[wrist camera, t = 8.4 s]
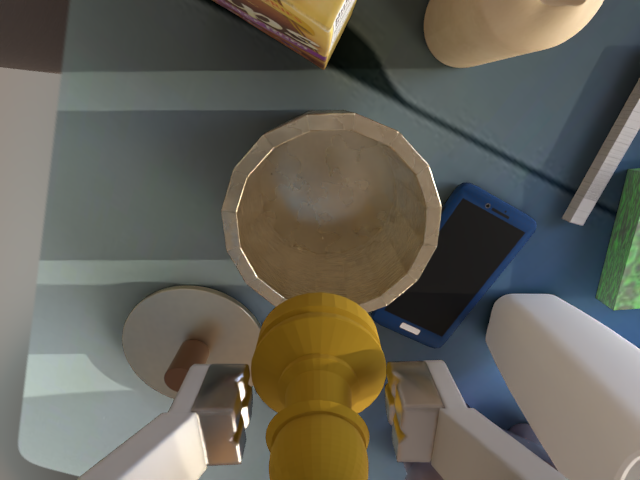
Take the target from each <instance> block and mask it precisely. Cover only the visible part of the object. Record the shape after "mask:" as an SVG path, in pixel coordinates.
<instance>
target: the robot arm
mask: <svg viewBox="0 0 640 480" xmlns="http://www.w3.org/2000/svg"><path fill="white" fill-rule="evenodd" d="M386 375H387V379H388V383H387V384H386V385H385V407H386V414H387V419H388V422H389V423H390V424H391V425H392V441H393V446H394V450H395V455H396V459H397V462H431V465H432V466H433V467H434V468H435V470H436V471H437V472H438V473H439V474H440V476H441V477H442V478H443V479H444V480H569V479H567V478H566V477H565V476H563V475H562V474H561V473H559V472H558V471H557V470H555V469H554V468H553V467H551V466H550V465H549V464H547V463H546V462H545V461H543V460H542V459H541V458H539V457H538V456H537V455H535V454H534V453H533V452H531V451H530V450H529V449H527V448H526V447H525V446H523V445H522V444H521V443H519V442H518V441H517V440H515V439H514V438H513V437H511V436H510V435H509V434H507V433H506V432H505V431H503V430H502V429H501V428H499V427H498V426H497V425H495V424H494V423H493V422H491V421H490V420H489V419H487V418H486V417H485V416H483V415H482V414H481V413H479V412H478V411H477V410H475V409H474V408H467V406H466V404H465V402H464V400H463V398H462V396H461V394H460V392H459V390H458V388H457V386H456V384H455V382H454V380H453V378H452V376H451V374H450V372H449V370H448V368H447V366H446V364H445V362H444V361H443V360H427V361H398V362H388V363H387V369H386ZM249 379H250V369H249V365H248V364H193V365H192V366H191V367H190V369H189V371H188V373H187V375H186V377H185V379H184V381H183V383H182V385H181V387H180V389H179V391H178V393H177V395H176V397H175V399H174V401H173V403H172V405H171V407H170V409H169V411H168V413H161V414H160V415H159V416H158V417H156V418H155V419H154V420H152V421H151V422H150V423H148V424H147V425H146V426H145V427H143V428H142V429H141V430H139V431H138V432H137V433H136V434H134V435H133V436H132V437H130V438H129V439H128V440H127V441H125V442H124V443H123V444H121V445H120V446H119V447H117V448H116V449H115V450H114V451H112V452H111V453H110V454H108V455H107V456H106V457H105V458H103V459H102V460H101V461H99V462H98V463H97V464H96V465H94V466H93V467H92V468H90V469H89V470H88V471H86V472H85V473H84V474H83V475H81V476H80V477H79V478H77V479H76V480H198V479H199V477H200V476H201V475H202V474H203V473H204V471H205V470H206V469H207V466H213V465H235V464H241V462H242V457H243V453H244V448H245V444H246V433H245V428H246V427H247V426H248V425H249V424H250V420H251V415H252V405H253V394H252V387H251V386H250V385H249V384H248V383H249Z"/></svg>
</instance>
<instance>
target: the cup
mask: <svg viewBox="0 0 640 480" xmlns="http://www.w3.org/2000/svg"><path fill="white" fill-rule="evenodd" d="M486 343H487V345H488V348H489V350H490V352H491V354H492V356H493V359H494V361H495V363H496V365H497V367H498V369H499V371H500V373H501V375H502V377H503V379H504V380H505V382H506V384H507V386H508V388H509V390H510V392H511V394H512V395H513V397H514V399H515V400H516V402H517V404H518V406H519V407H520V409H521V411H522V413H523V414H524V416H525V418H526V419H527V421H528V423H529V425H530V426H531V428H532V430H533V431H534V433H535V435H536V436H537V438H538V439H539V441H540V443H541V444H542V446H543V448H544V449H545V451H546V452H547V454H548V456H549V457H550V459H551V460H552V462H553V464H554V465H555V467H556V468H557V470H558V472H559V473H561V474H562V475H563V476H565V477H566V478H567V479H569V480H640V349H639V348H637V347H636V346H635V345H633V344H632V343H630V342H629V341H627V340H626V339H624V338H623V337H621V336H620V335H619V334H617V333H616V332H614V331H613V330H611V329H610V328H608V327H607V326H605V325H603V324H602V323H600V322H599V321H597V320H595V319H594V318H592V317H591V316H589V315H587V314H586V313H584V312H583V311H581V310H579V309H578V308H576V307H574V306H572V305H571V304H569V303H567V302H565V301H563V300H562V299H560V298H558V297H556V296H555V295H551V294H506V295H504V296H502V297H500V298H499V299H498V300H497V301H496V302H495V303H494V305H493V308H492V312H491V316H490V320H489V324H488V328H487V333H486Z"/></svg>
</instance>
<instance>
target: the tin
mask: <svg viewBox="0 0 640 480" xmlns="http://www.w3.org/2000/svg"><path fill="white" fill-rule="evenodd" d="M441 211H442V206H441V201H440V198H439V195H438V191H437V188H436V185H435V182H434V179H433V175H432V172H431V169H430V166H429V165H428V163H427V162H426V161H425V160H424V159H423V157H422V156H421V155H420V154H419V153H418V152H417V151H416V150H415V149H414V148H413V146H412V145H411V144H410V143H409V142H408V141H407V140H406V139H405V138H404V136H403V135H402V134H401V133H400V132H398V131H397V130H394V129H392V128H390V127H387V126H385V125H383V124H380V123H378V122H376V121H373V120H371V119H368V118H366V117H364V116H361V115H359V114H357V113H353V112H349V111H345V110H316V111H308V112H306V113H304V114H302V115H300V116H298V117H295V118H293V119H291V120H289V121H287V122H285V123H283V124H281V125H279V126H277V127H275V128H274V129H272V130H270V131H268V132H267V133H265V134H264V135H262V136H261V137H260V139H259V140H258V141H257V142H256V143H255V144H254V145H253V147H252V148H251V149H250V150H249V151H248V152H247V154H246V155H245V156H244V157H243V158H242V159H241V161H240V162H239V163H238V164H237V165H236V166H235V167H234V170H233V172H232V175H231V179H230V182H229V185H228V189H227V192H226V195H225V199H224V202H223V206H222V210H221V213H222V220H223V228H224V235H225V243H226V250H227V252H228V254H229V255H230V257H231V259H232V260H233V262H234V264H235V265H236V267H237V269H238V271H239V272H240V274H241V276H242V277H243V279H244V281H245V282H246V284H247V285H248V286H250V287H251V288H252V289H253V290H255V291H256V292H257V293H259V294H260V295H261V296H262V297H264V298H265V299H266V300H268V301H269V302H270V303H271V304H273V305H274V306H275V307H276V306H278V305H279V304H281V303H283V302H284V301H286V300H288V299H290V298H293V297H295V296H298V295H302V294H307V293H319V292H323V293H330V294H336V295H339V296H342V297H345V298H347V299H349V300H351V301H353V302H355V303H357V304H358V305H359V306H360V307H362V308H363V309H364V310H365V311H366V312H367V313H369V312H371V311H374V310H377V309H380V308H382V307H385V306H387V305H389V304H390V303H391V302H393V301H394V300H395V299H396V298H397V297H399V296H400V295H401V294H402V293H403V292H405V291H406V290H407V289H408V288H409V287H411V286H412V285H413V284H414V283H416V282H417V280H418V279H419V278H420V276H421V274H422V272H423V271H424V269H425V267H426V265H427V263H428V262H429V260H430V258H431V256H432V255H433V253H434V251H435V249H436V248H437V244H438V236H439V227H440V219H441Z"/></svg>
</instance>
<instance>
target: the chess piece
mask: <svg viewBox="0 0 640 480" xmlns="http://www.w3.org/2000/svg"><path fill="white" fill-rule="evenodd" d="M251 377H252V383H253V385H254V387H255V390H256V392H257V393H258V395H259V396H260V398H261V399H262V400H263V401H264V402H265V403H266V404H267V405H268V406H269V407H270V408H271V409H273V410H274V411H276V412H278V414H276V415H275V416H274V418H273V419H272V420H271V422H270V423H269V425H268V428H267V431H266V443H267V446H268V449H269V451H270V453H271V454H270V461H269V476H270V480H368V456H367V452H366V449H367V447H368V444H369V431H368V427H367V425H366V424H365V422H364V420H363V419H362V418H361V417H360V416H359V415H358V413H359V412H361V411H363V410H364V409H365V408H367V407H368V406H369V405H370V404H371V403H372V402H373V401H374V400H375V399H376V398H377V397H378V395H379V393H380V392H381V390H382V388H383V386H384V382H385V379H386V361H385V356H384V353H383V351H382V349H381V345H380V340H379V337H378V333H377V329H376V326H375V324H374V322H373V320H372V318H371V317H370V316H369V315H368V313H367V312H366V311H365V310H364V309H363V308H362V307H360V306H359V305H358V304H357V303H355V302H353V301H351V300H349V299H347V298H345V297H342V296H339V295H336V294H330V293H323V292H319V293H307V294H302V295H298V296H295V297H293V298H290V299H288V300H286V301H284V302H283V303H281V304H279V305H278V306H276V307H275V308H274V309H273V310H272V311H271V312H270V313H269V314H268V316H267V318H266V319H265V321H264V322H263V324H262V327H261V330H260V333H259V337H258V341H257V345H256V349H255V352H254V354H253V357H252V361H251Z"/></svg>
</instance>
